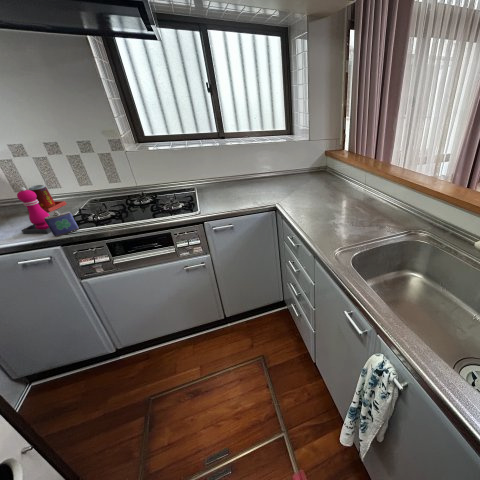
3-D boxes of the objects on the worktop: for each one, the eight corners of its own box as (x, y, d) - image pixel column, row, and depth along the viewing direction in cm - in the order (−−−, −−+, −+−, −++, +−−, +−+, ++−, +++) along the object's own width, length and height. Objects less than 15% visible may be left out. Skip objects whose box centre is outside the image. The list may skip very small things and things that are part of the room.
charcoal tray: (23, 233, 123) (21, 230, 122) (44, 223, 132) (42, 219, 131) (47, 233, 123) (45, 229, 122) (67, 222, 133) (65, 219, 132)
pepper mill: (46, 230, 124) (21, 189, 114) (31, 230, 124) (5, 190, 114) (59, 223, 130) (37, 184, 120) (45, 223, 131) (21, 184, 121)
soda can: (45, 205, 151) (34, 184, 145) (59, 204, 152) (48, 184, 146) (36, 210, 145) (23, 189, 139) (50, 209, 146) (38, 188, 140)
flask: (78, 227, 127) (67, 207, 122) (80, 229, 126) (69, 208, 120) (53, 235, 121) (40, 214, 116) (55, 237, 119) (42, 215, 114)
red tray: (29, 212, 144) (27, 209, 143) (47, 204, 153) (45, 201, 153) (50, 212, 144) (48, 209, 143) (66, 204, 154) (65, 201, 153)
